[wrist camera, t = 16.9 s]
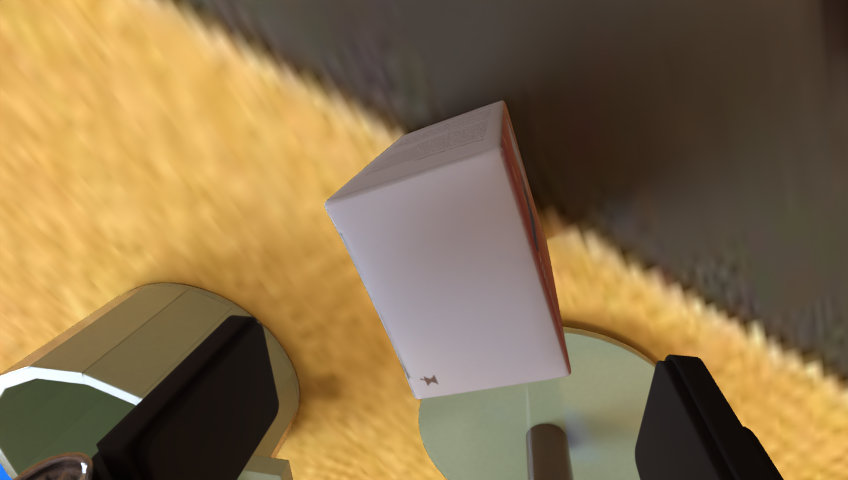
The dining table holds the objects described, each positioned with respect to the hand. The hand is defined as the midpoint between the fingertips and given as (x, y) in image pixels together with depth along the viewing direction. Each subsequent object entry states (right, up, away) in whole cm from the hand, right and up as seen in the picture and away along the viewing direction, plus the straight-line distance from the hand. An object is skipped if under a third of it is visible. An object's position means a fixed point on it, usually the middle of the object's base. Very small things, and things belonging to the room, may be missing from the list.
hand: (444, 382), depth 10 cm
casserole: (-17, -6, +22) cm, 29 cm away
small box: (+2, +6, +12) cm, 14 cm away
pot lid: (+7, -9, +18) cm, 21 cm away
